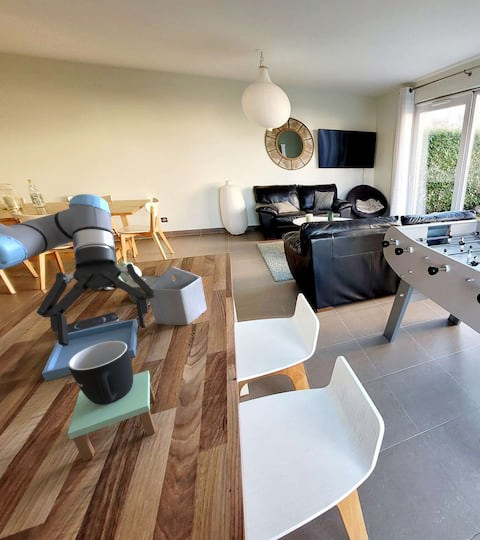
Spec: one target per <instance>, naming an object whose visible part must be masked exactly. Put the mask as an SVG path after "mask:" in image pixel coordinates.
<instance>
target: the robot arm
mask: <svg viewBox="0 0 480 540" xmlns="http://www.w3.org/2000/svg"><path fill="white" fill-rule="evenodd" d="M112 224H113V223H112V214H111V210H110V206H109V203H108V202H107V200H105V199H104V198H102V197H100V196H99V195H95V194H90V193H81V194H76V195H74V196H72V197H71V198H70V199H69V203H68V208H66V209H64V210H61V211H58V212H55V213H51V214H48V215H44V216H40V217H37V218H34V219H28V220H26V221H23V222H18V223H15V224H11V225H5V224H3V223H1V222H0V271H1V270H4V269H7V268H11V267H15V266H17V265H21V264H22V263H23V262H25V261H27V260H29V259H31V258H33V257H36V256H39V255H41V254H44V253H46V252H49V251H52V250H53V249H56V248H59V247H61V246H64V245H67V244H70V243H72V247H73V252H74V253H73V254H74V255H73V256H74V267H75V271H74V272H73V273H63V272H61V271H60V272H57V273H56V274H55V282H54V283H53V285H52V287H51V288H50V289H49V291H48V293H47V294H46V296H45V297H44V299H43V301H42V302H41V304H40V305H39V307H38V308H37V310H36V314H37V315H39V316H41V317H42V318H49V319H50V320H49V321H50V329H51V330H52V332H54V333H56V332H57V331H58V333H57V341H58V343H59V344H60V345H62V346H67V345H68V332H67V324H68V321H67V316H66V315H64V314H65V313H66V312H67V311H68V310H69V308H71V306H72V305H74V304H75V303H76V302H77V300H78V299H79V298H80V297H81V296H82V295H83V294H85V293H86V292H87V291H88V290H99V289H98V288H102V289H104V288H107V287H109V286H110V287H112V286H111V285H112V284H113V285H114V286H115V287H116V288H118V289H120V290H122V291H124V292H125V293H127V294H128V293H129V294H130V295H132V296H134V297H135V298H137V299H138V300H136V303H135V304H136V310H137V316H138V323H139V327H140V329H146V319H145V314H149V311H150V310H149V305H148V304H149V303H148V302H147V301H148V299H150V298H154V297H155V293H154V291H153V290H152V289H151V288H150V287H149V286H148V285H147V284H146V283H145V282H144V281H143V280H142V279H141V277H140V276H139V275H138V274H137V273H136V272H135V269H134V267H133V265H134V264H133V265H132V264H127V266H126V267H121V268H119V267H118V264H119V263H118V259H117V252H116V245H115V237H114V233H113V225H112ZM121 273H125V274H126V275H130V276H131V278H132V279H133V280H134V281H135V282H136V283H137V284H138V285H139V286H140V287H141V288H142V289H143V290H144V292H145V294H143V293H141V292H139V291H138V290H136V289H135V288H133V287H131V286H130V285H128V284H126V282H123V281H121V280H120V279H119V278H118V277H119V276H120V274H121ZM73 280H75V281H76V283H74V285H73V287H72V288H71V289H70V290H69V291H68V292H67V293H66V294H65V295H64V296H63V294H64V293H65V290H67V287H68V285H69V284H71V282H72V281H73ZM129 294H128V295H129ZM62 296H63V297H62ZM61 297H62V298H61Z"/></svg>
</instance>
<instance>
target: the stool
mask: <svg viewBox="0 0 480 540" xmlns="http://www.w3.org/2000/svg"><path fill="white" fill-rule="evenodd" d="M154 402H156V396H155V393H154V390H153V387H152V383H151V374H150V371H149V370H145V371H142V372H138V373H136V374H133V385H132V388H131V390H130V391H129V393H128V394H127V395H125V396H124V397H123V398H121V399H119V400H117V401H115V402H113V403H109V404H104V405H99V404H95V403H93V402H91V401H90V400H89V399H88V398H87V397H86V396H85V395H84V393H83V392H82V391H81V390H79V393H78V395H77V399H76V403H75V406H74V410H73V413H72V417H71V420H70V424H69V427H68V431H67V436H68V438H69V440H73V442H74V444H75V447H76V449H77V451H78V453H79V455H80V457H81V459H82V461H83V462H86V461H88V460H92V459H94V457H95V452H96V451H95V449H94V446H93V445H92V443H91V440H90V438H89V436H88V434H89V433H92V432H95V431H97V430H98V431H99V430H101V429H103V428H106V427H108V426H111V425H114V424H117V423H120V422H123V421H125V420H128V419H131V418H135V417H136V416H139V417H140V420H141V423H142V426H143V429H144V431H145V432H144V433H145V435H146V437H148V436H149V437H150V436H151V435H154V434H156V425H155V423H154V419H153V416H152V413H151V408H150V407H151V404H152V403H154Z"/></svg>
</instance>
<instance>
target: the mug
mask: <svg viewBox="0 0 480 540" xmlns="http://www.w3.org/2000/svg"><path fill="white" fill-rule="evenodd" d="M68 366H69V369H70V371H71V374H70V375H71V376H72V378H73V379H74V381H75V383H76V384H77V386H78V387H79V389H80V391H82V392H83V393H84V395H85V396H86V397H87V398H88V399H89V400H90V401H91V402H93V403H95V404H99V405H104V404H109V403H113V402H115V401H117V400H119V399H121V398H123V397H124V396H125V395H127V394H128V393H129V391H130V390H131V388H132V385H133V375H134V370H133V369H134V368H133V363H132V358H131V357H130V353H129V349H128V347H127V345H126V344H125V343H124V342H120V341H109V342H103V343H99V344H96V345H93V346H90V347H88V348H86V349H84V350H82V351H80V352H78V353H77V354H76V355H74V356H73V357H72V358H71V359H70V361H69V363H68Z"/></svg>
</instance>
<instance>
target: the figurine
mask: <svg viewBox="0 0 480 540" xmlns="http://www.w3.org/2000/svg"><path fill="white" fill-rule="evenodd" d="M117 264H118V267H119V268H121V267H126V266H127V264H132V265H133V267H134V269H135V272H136V273H137V274H138V275H139V276H143V275H142V274H143V273H142V271H141V270H140V268H139V267H138V266H137V265H134V263H133V262H132V261H129V262H128V261H125V260H124V259H123V260H120V262H119V263H117ZM118 278H119V279H120V280H121V281H123V282H125V283H126V282H127V281H129V280H131V279H132V278H131V276H130V275H126V274H125V273H121V274H120V276H119V277H118ZM114 286H115V285H113V284H112V285H111V286H109V287H107V288H98V289H97V290H102V289H104V290H105V291H110V290H114V289H115V288H114Z"/></svg>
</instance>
